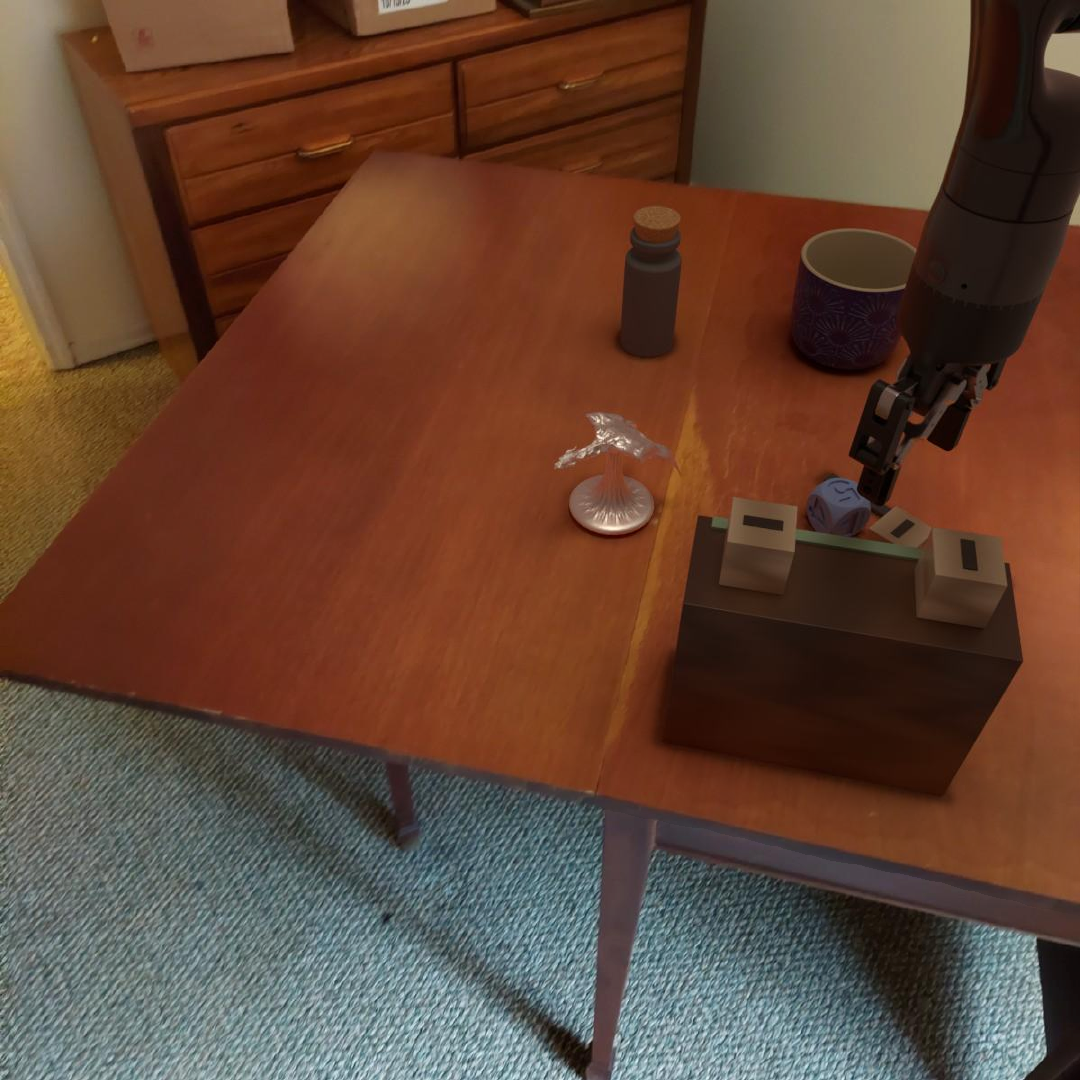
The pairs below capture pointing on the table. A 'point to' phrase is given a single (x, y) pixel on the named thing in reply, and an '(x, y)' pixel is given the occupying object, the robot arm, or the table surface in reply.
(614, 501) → the figurine
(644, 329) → the bottle
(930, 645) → the dark brown block
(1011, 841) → the table surface
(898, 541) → the beige cubes with bar
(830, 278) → the planter
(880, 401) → the robot arm
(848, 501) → the decorative dice
